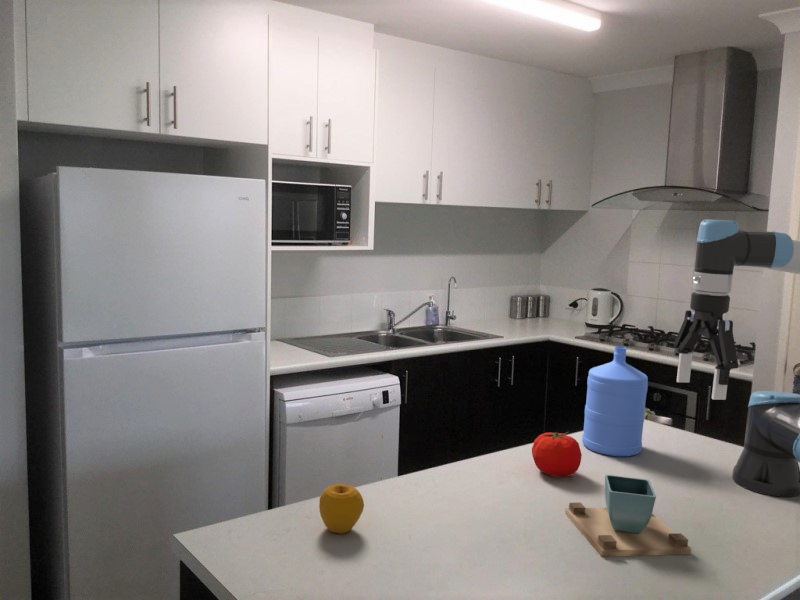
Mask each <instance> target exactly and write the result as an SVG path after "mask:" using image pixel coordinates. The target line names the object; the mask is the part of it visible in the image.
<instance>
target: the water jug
mask: <svg viewBox="0 0 800 600" xmlns="http://www.w3.org/2000/svg"><path fill="white" fill-rule="evenodd" d="M627 350H628V347H625V346H620V345H619V346H614V352H613V359H612V361H610V362H607V363H604V364H601V365H597V366H593V367H592V368H590V369H589V371H588V376H587V382H586V384H587V386H586V387H587V390H586V401H585V402H586V403H585V405H584V422H583V433H582V436H581V437H582V438H581V442H582V444H583V446H585V448H587V449H588V450H590V451H592V452H595V453H598V454H601V455H606V456H612V457H620V458H621V457H632V456H633V457H634V456H636V455H638V454H639V453H641V451H642V447H643V441H642V439H643V431H644V429H643V428H644V423H645V417H646V413H645V411H646V404H647V403H646V402H647V401H646V400H647V393H648V387H649V383H648V382H649V381H648V380H649V378H648V376H647V374H645V373H644V372H642V371H641V370H639V369H637V368H635V367H634V366H632V365H631V364H628V363H627V362H626V359H627V358H626V357H627Z"/></svg>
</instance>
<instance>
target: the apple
mask: <svg viewBox="0 0 800 600" xmlns="http://www.w3.org/2000/svg"><path fill="white" fill-rule="evenodd" d="M364 507H365V504H364V499H363V496H362V494H361V492H360V491H359V490H358V489H357V487H356V488H355V487H354V486H352V485H350V484H349V485H348V484H344V483H334V484H331V485H329V486H327V487H326V488H325V489H324V490H323V491H322V492H321V495H320V496H319V509H318V510H319V513H320V517H321V520H322V522H323V524H324V526H325V528H327V529H328V531H330V532H332V533H335V534H340V535H341V534H342V535H343V534H346V533H348V532H350V530H351V531H352V529H353V528H354V527H355V525H356V524H357V522H358V521H359V519H360V518H361V515H362V514H363V512H364Z"/></svg>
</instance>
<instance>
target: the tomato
mask: <svg viewBox="0 0 800 600" xmlns="http://www.w3.org/2000/svg"><path fill="white" fill-rule="evenodd" d="M567 433H569V431H567V432H565V433H559V432H550V431H549V432H544V433H541V434H539V435H538V436H537V437H536V438H535V439H534V441H533V445H532V447H531V455H532V458H533V461H534V464H535V467H536V468H537V469H538V470H539V471H541V472H542V473H544V474H546V475H548V476H550V477H558V478H559V477H561V478H567V477H570V476H572V475H574V474H575V473H577V471H578V470H579V468H580V466H581V462H582V458H583V457H582V451H581V448H580V443H579V442H578V441H577V440H576V439H575V438H574V437H572V435H571V436H569V435H567Z"/></svg>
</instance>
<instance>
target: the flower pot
mask: <svg viewBox="0 0 800 600" xmlns="http://www.w3.org/2000/svg"><path fill="white" fill-rule="evenodd" d="M656 498H657V495H656V493H655V491H654V488H653V486H652V483H651V481H650V479H645V478H637V477H628V476H627V477H626V476H620V475H619V476H618V475H614V474H613V475H611V474H605V475H604V500H605V505H606V508H607V510H608V514H609V518H610V522H611V525H612V527H613V529H614V530H616V531H624V532H632V533H641V532H642V531H643V530H644V528H645V527H646V526H647V525H648V523H649V521H650V518H651V515H652V514H653V511H654V507H655V503H656Z"/></svg>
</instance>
